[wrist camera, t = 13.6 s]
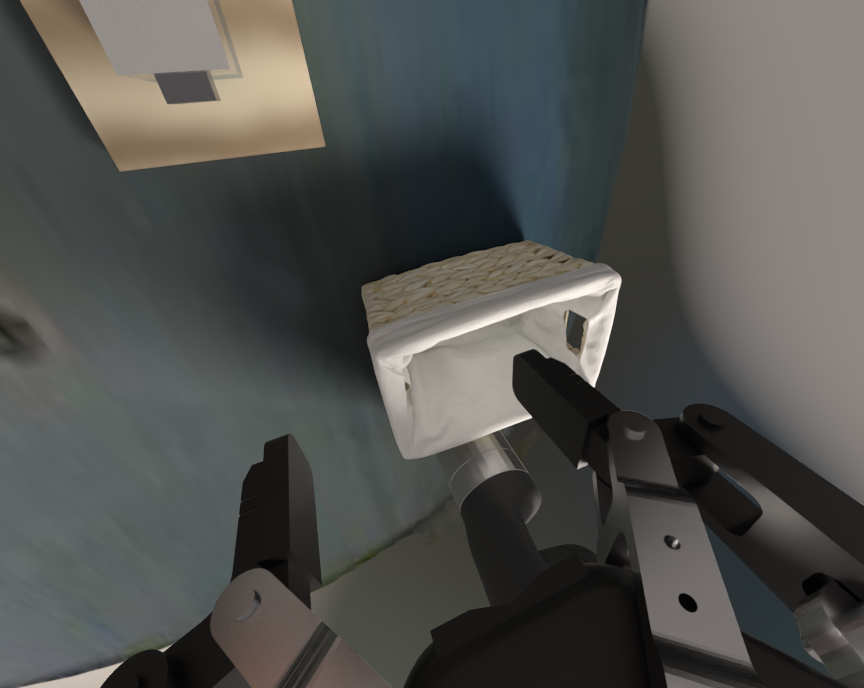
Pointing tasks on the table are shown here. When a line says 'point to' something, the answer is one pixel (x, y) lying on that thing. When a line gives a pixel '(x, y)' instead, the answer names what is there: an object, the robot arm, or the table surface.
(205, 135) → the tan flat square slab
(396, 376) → the storage basket
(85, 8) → the gray block
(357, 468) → the table surface
